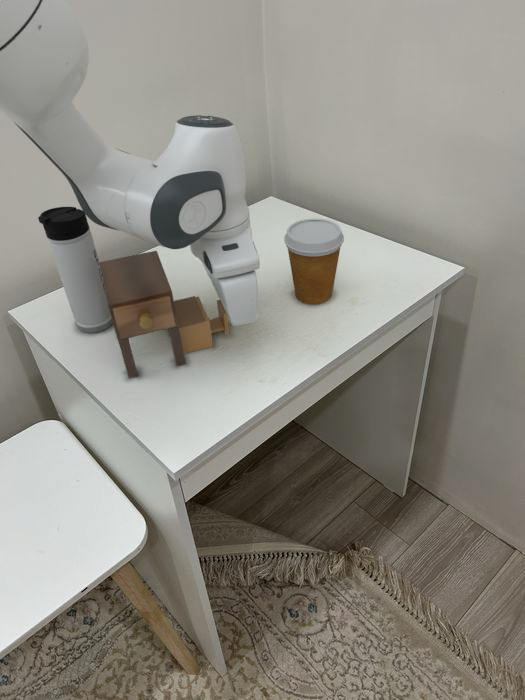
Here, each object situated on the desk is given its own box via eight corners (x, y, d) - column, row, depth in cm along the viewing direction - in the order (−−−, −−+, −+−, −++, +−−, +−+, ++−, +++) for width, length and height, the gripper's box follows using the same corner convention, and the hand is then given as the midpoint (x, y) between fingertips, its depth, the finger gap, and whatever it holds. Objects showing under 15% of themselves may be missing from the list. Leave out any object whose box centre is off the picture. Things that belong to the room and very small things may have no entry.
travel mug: (67, 325, 90) (28, 213, 78) (100, 307, 94) (67, 197, 81) (90, 339, 87) (52, 224, 74) (123, 319, 91) (92, 207, 78)
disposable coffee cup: (351, 288, 94) (354, 224, 87) (324, 316, 88) (325, 250, 81) (304, 274, 99) (303, 212, 91) (275, 300, 93) (272, 236, 85)
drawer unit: (130, 386, 78) (109, 312, 70) (119, 332, 88) (99, 261, 80) (188, 371, 80) (174, 297, 71) (170, 320, 90) (156, 250, 82)
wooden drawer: (178, 355, 83) (172, 328, 79) (169, 329, 88) (164, 302, 85) (232, 342, 84) (229, 315, 81) (220, 316, 90) (217, 290, 87)
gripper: (183, 210, 84) (196, 285, 93) (216, 275, 69) (228, 358, 77) (222, 202, 85) (231, 277, 94) (263, 264, 70) (269, 347, 79)
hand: (230, 314), depth 86 cm, fingers closed, pressing on wooden drawer
